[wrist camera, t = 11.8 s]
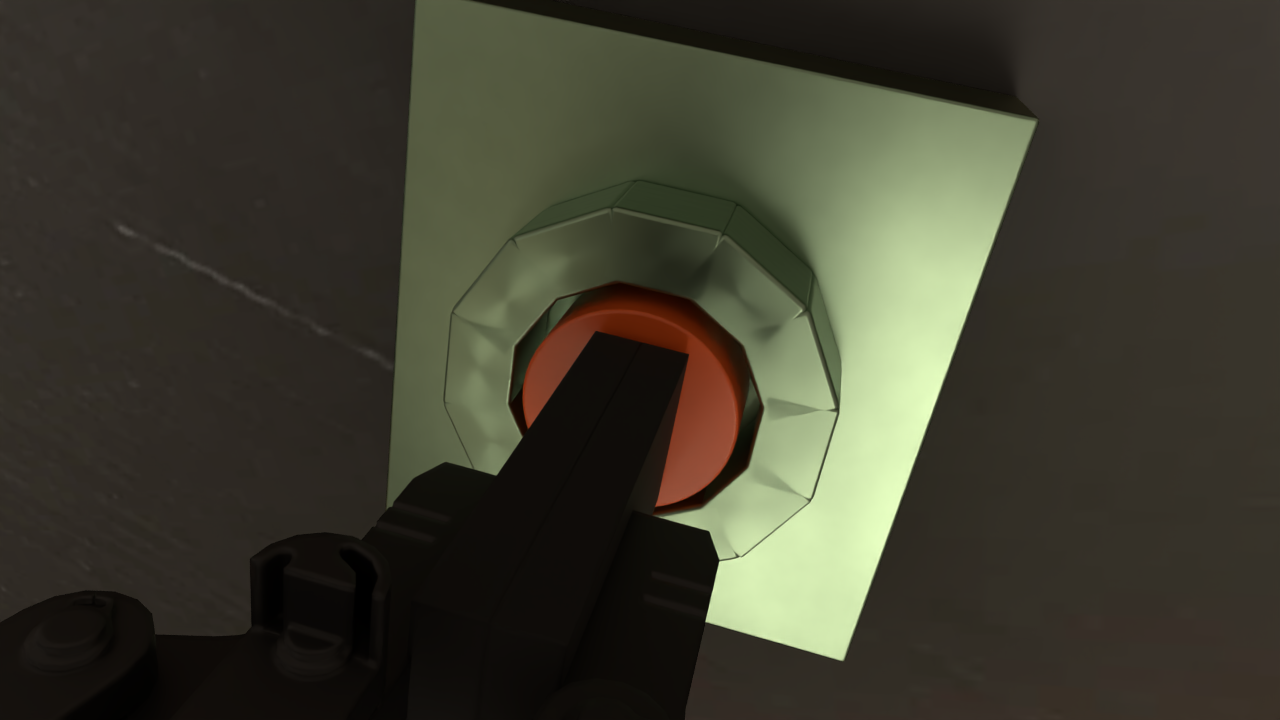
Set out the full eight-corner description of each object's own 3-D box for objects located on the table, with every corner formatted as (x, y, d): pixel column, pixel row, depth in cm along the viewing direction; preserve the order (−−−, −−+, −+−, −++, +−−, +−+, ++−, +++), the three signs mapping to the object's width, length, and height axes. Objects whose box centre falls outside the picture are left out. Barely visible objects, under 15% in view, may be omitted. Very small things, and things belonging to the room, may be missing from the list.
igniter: (846, 595, 21) (843, 732, 17) (426, 478, 22) (341, 584, 18) (1018, 96, 16) (1065, 141, 12) (465, -18, 17) (360, -7, 13)
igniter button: (726, 479, 17) (713, 532, 15) (541, 429, 17) (510, 477, 16) (771, 301, 15) (761, 342, 14) (566, 252, 16) (535, 286, 14)
